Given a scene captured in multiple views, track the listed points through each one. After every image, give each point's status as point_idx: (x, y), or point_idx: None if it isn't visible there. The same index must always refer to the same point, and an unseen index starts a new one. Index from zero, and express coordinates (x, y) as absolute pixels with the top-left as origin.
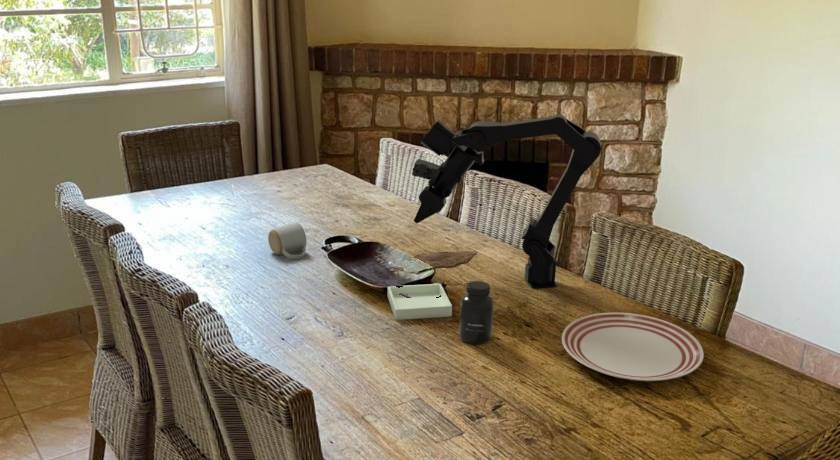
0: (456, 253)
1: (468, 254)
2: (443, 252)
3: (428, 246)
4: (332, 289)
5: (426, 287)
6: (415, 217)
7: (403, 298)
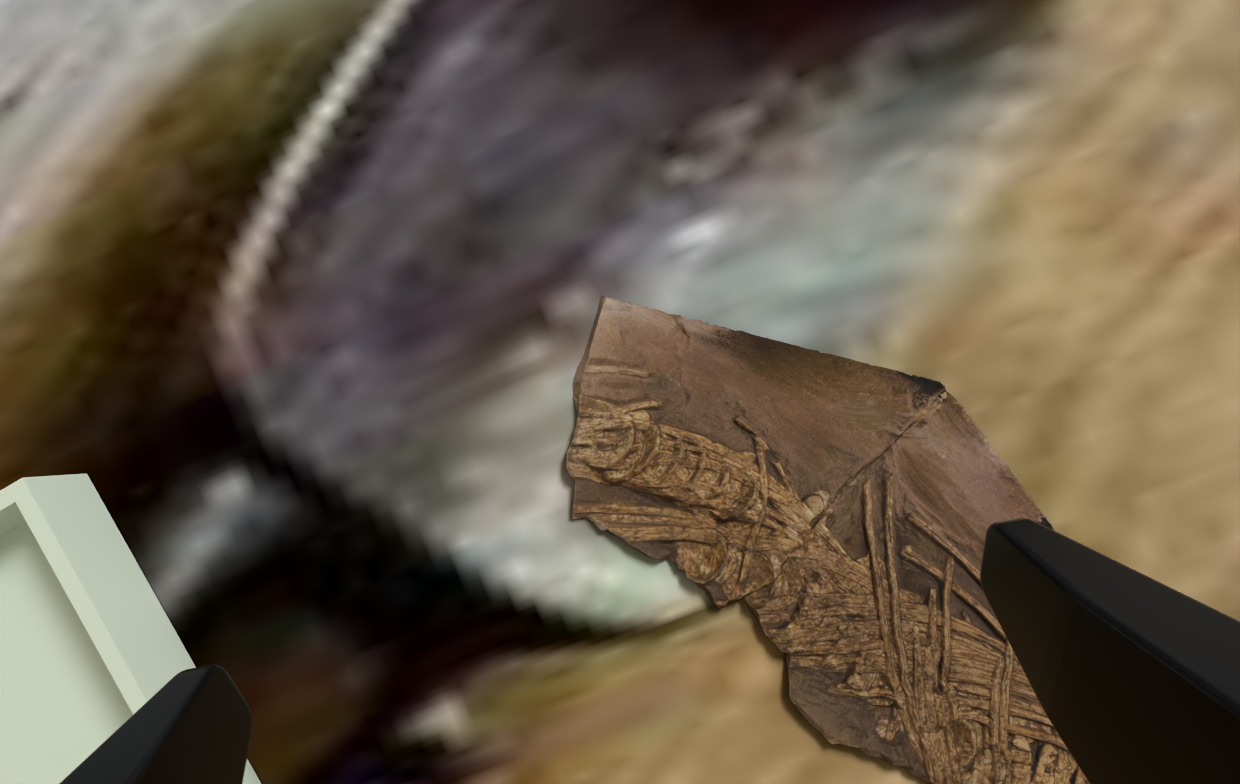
0: None
1: None
2: None
3: (1166, 380)
4: (67, 63)
5: None
6: (83, 767)
7: (40, 615)
